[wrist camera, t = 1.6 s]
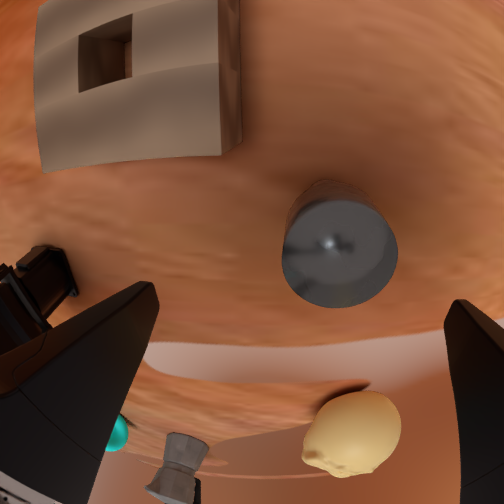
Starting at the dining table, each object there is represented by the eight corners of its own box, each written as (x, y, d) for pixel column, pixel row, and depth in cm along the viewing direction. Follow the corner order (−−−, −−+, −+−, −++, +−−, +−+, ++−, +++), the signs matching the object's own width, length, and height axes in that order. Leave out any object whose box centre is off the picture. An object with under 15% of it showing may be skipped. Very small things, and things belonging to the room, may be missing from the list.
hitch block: (242, 141, 18) (221, 155, 14) (86, 155, 20) (43, 173, 16) (238, -32, 11) (218, -67, 7) (82, 14, 13) (38, 7, 9)
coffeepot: (152, 426, 48) (125, 495, 32) (183, 428, 44) (156, 507, 29) (197, 455, 53) (179, 515, 38) (229, 456, 50) (212, 523, 34)
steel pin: (357, 235, 20) (382, 309, 13) (287, 231, 21) (279, 304, 14) (366, 166, 18) (408, 211, 10) (290, 160, 18) (283, 200, 11)
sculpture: (294, 411, 34) (286, 480, 25) (349, 370, 28) (353, 456, 19) (354, 426, 35) (355, 486, 26) (411, 390, 29) (423, 460, 20)
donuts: (84, 398, 49) (66, 430, 41) (104, 399, 46) (84, 436, 37) (113, 422, 53) (99, 453, 45) (136, 424, 49) (121, 459, 41)
